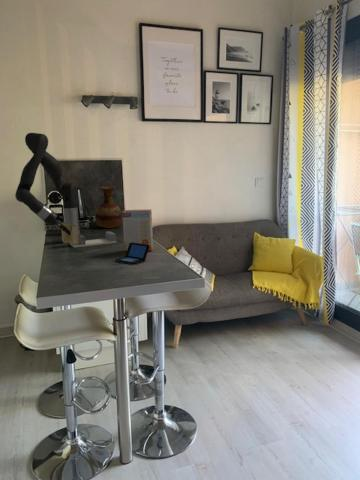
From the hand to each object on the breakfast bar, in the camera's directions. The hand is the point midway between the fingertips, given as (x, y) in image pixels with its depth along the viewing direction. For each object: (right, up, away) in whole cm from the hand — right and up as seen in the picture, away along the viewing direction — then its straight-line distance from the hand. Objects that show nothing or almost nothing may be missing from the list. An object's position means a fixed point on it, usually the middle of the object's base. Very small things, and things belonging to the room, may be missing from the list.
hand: (69, 233), depth 226 cm
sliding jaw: (+8, -6, -11) cm, 15 cm away
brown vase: (+14, +5, +53) cm, 55 cm away
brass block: (-2, -5, 0) cm, 5 cm away
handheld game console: (+43, -14, -51) cm, 69 cm away
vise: (+15, -6, -7) cm, 18 cm away
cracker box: (+44, -9, -30) cm, 54 cm away
